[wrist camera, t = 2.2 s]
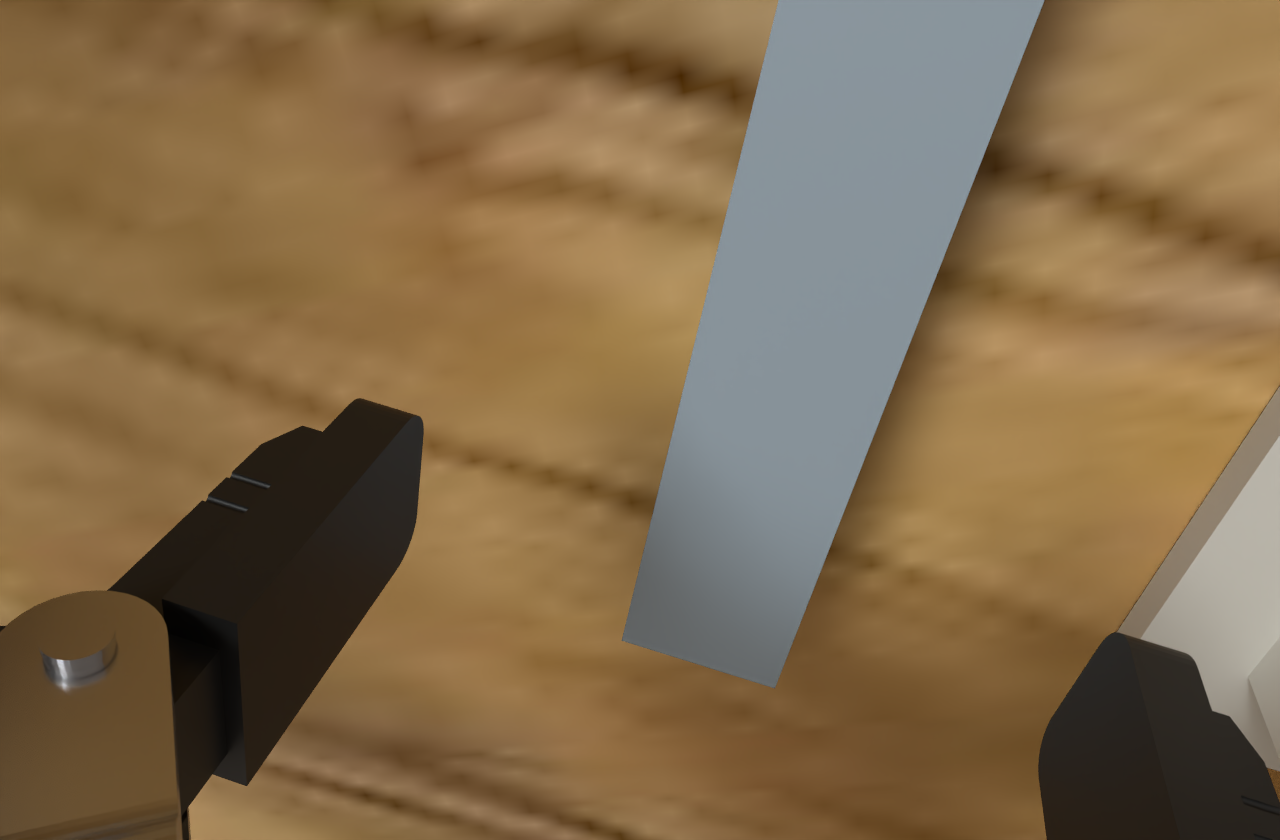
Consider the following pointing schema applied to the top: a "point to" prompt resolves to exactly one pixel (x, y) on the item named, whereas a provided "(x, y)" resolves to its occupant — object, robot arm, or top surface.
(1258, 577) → the stand
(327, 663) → the robot arm
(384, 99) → the top surface
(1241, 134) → the top surface
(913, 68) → the rail
